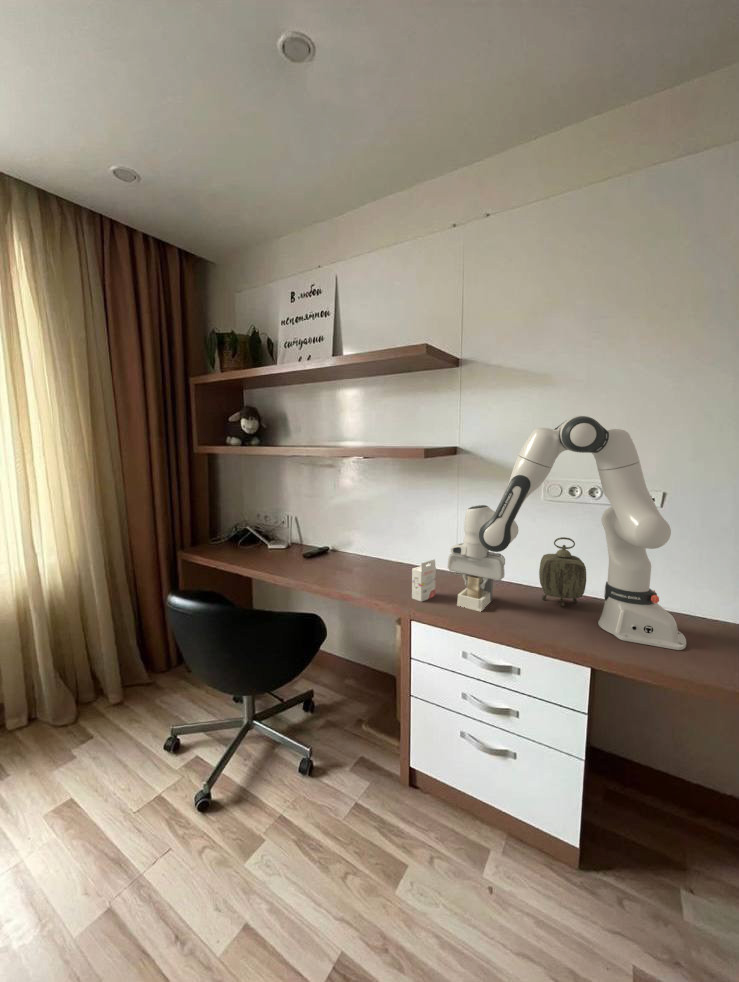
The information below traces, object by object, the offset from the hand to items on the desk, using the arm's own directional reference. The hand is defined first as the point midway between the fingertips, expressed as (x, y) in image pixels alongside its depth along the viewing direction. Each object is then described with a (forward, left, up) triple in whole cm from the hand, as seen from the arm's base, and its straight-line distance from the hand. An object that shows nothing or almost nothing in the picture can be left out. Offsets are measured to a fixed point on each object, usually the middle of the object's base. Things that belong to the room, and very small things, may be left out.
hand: (474, 586), depth 142 cm
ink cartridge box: (+18, +5, -7) cm, 20 cm away
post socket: (0, 0, -7) cm, 7 cm away
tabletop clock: (-26, -19, -7) cm, 33 cm away
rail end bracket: (0, 0, -4) cm, 4 cm away
